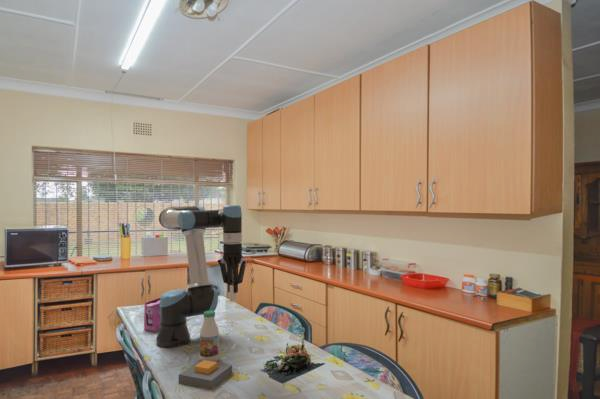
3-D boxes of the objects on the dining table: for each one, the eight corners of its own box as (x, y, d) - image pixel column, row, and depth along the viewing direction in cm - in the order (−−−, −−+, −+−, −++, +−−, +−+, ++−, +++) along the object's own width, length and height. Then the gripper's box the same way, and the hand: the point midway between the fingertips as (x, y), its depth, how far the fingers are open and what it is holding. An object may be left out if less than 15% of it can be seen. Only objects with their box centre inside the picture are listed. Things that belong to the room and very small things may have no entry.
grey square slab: (178, 382, 145) (178, 374, 145) (201, 367, 158) (201, 359, 158) (211, 389, 140) (211, 380, 140) (232, 372, 153) (232, 364, 153)
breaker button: (194, 372, 147) (194, 366, 147) (204, 366, 153) (204, 359, 153) (208, 375, 145) (208, 368, 145) (217, 368, 151) (217, 362, 151)
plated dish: (294, 344, 185) (294, 328, 184) (343, 362, 165) (343, 344, 165) (233, 369, 159) (233, 351, 159) (283, 393, 140) (283, 372, 140)
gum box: (154, 332, 200) (154, 305, 200) (141, 330, 203) (141, 303, 203) (184, 318, 222) (184, 294, 222) (172, 317, 225) (172, 293, 225)
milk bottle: (201, 356, 169) (201, 309, 169) (220, 356, 169) (219, 309, 169) (198, 364, 161) (198, 314, 161) (217, 363, 162) (217, 314, 161)
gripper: (213, 243, 162) (214, 301, 162) (242, 244, 158) (243, 304, 158) (223, 241, 169) (223, 297, 169) (251, 242, 165) (251, 299, 165)
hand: (233, 300), depth 164 cm, fingers closed
